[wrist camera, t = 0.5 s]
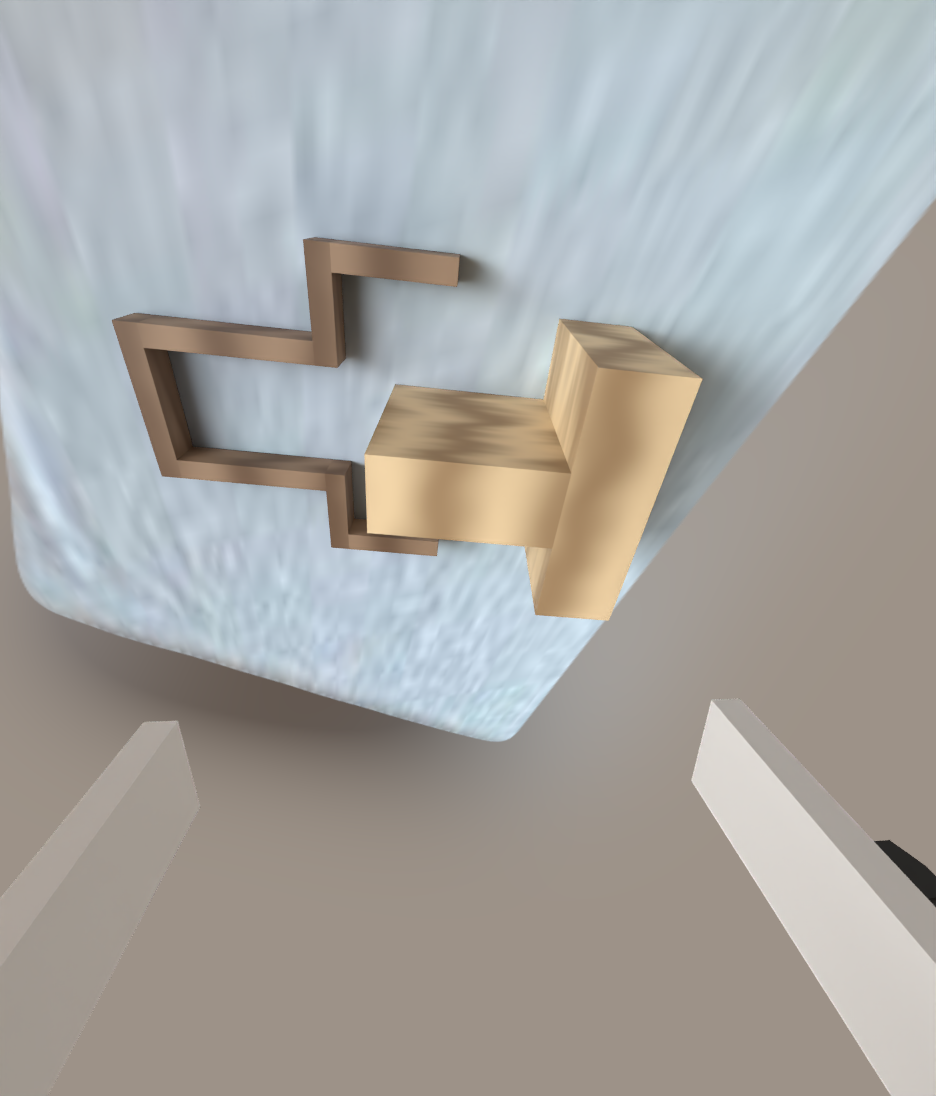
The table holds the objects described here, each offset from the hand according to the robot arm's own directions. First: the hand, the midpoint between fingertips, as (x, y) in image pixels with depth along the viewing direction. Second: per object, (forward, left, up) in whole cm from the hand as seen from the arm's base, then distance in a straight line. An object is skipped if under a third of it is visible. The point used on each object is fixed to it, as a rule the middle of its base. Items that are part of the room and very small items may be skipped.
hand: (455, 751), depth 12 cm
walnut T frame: (+11, -4, -28) cm, 30 cm away
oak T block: (-1, +3, -28) cm, 28 cm away
